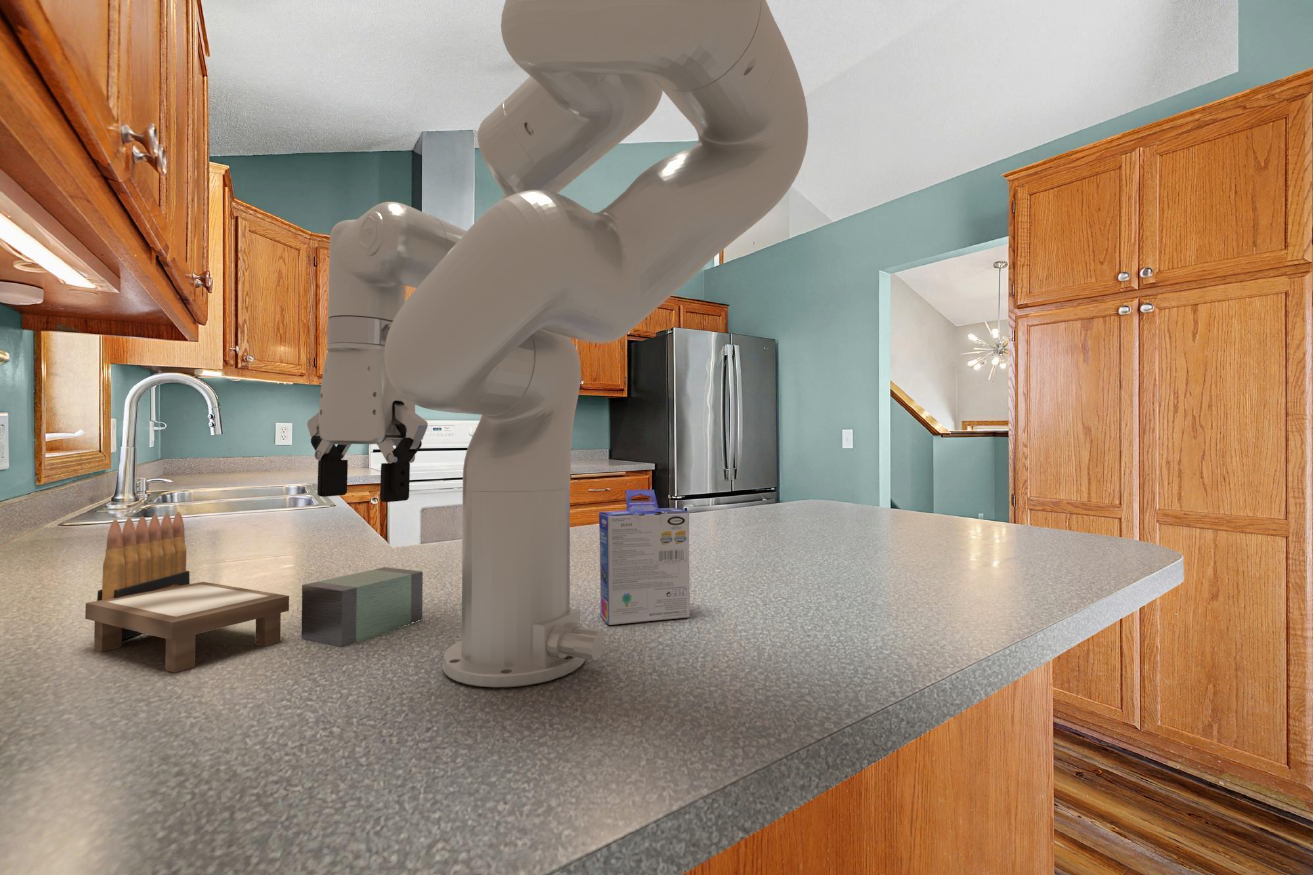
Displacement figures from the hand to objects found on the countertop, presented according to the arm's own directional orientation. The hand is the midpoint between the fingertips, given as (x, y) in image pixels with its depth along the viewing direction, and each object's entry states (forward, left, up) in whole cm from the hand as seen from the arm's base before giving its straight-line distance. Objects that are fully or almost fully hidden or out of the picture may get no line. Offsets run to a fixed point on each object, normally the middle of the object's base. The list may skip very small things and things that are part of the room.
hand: (362, 498), depth 63 cm
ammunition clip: (+21, +10, -14) cm, 27 cm away
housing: (-1, 0, -14) cm, 14 cm away
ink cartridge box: (-26, -17, -14) cm, 34 cm away
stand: (+10, +11, -14) cm, 21 cm away
